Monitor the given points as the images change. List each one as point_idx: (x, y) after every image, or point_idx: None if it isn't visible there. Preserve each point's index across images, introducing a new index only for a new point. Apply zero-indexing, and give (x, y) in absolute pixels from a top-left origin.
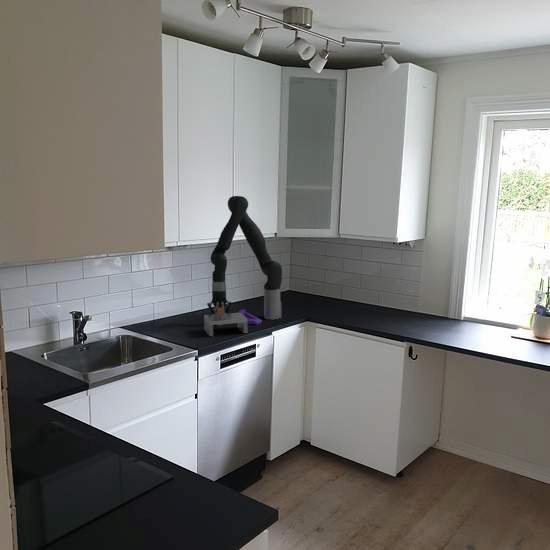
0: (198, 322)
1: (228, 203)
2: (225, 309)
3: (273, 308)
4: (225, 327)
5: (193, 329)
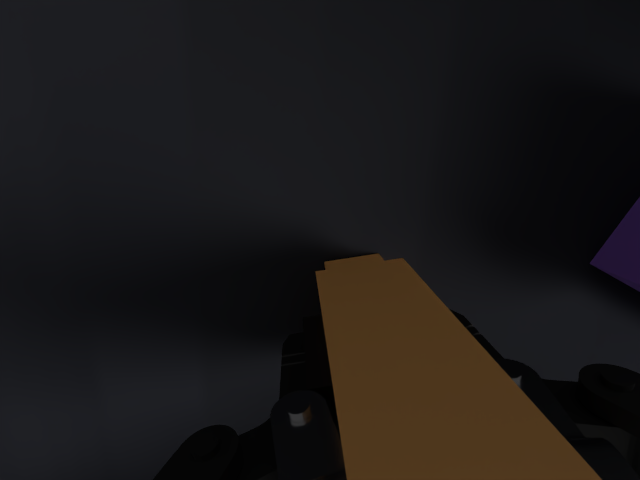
0: (22, 98)
1: None
2: (621, 407)
3: None
4: None
5: (29, 454)
